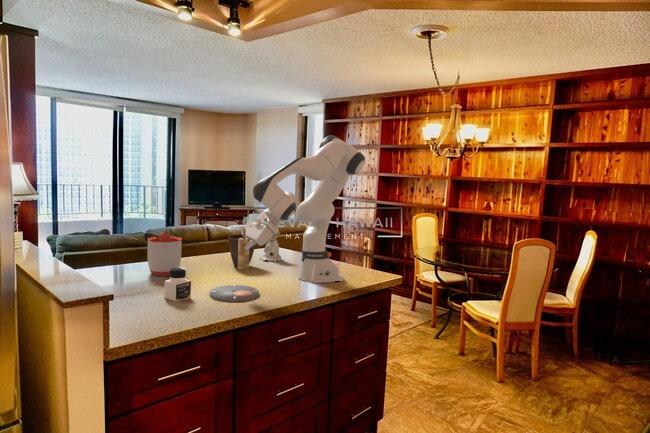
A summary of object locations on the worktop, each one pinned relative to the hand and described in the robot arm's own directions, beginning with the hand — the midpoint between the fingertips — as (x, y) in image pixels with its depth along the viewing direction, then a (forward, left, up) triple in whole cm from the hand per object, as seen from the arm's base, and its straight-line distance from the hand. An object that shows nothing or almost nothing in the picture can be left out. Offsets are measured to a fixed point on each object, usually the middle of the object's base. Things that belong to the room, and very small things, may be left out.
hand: (242, 247), depth 169 cm
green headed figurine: (-19, -72, -21) cm, 77 cm away
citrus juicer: (+35, -39, -21) cm, 57 cm away
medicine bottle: (+24, +1, -21) cm, 32 cm away
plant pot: (-2, -54, -21) cm, 58 cm away
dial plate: (+2, -3, -20) cm, 21 cm away
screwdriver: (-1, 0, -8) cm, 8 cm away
